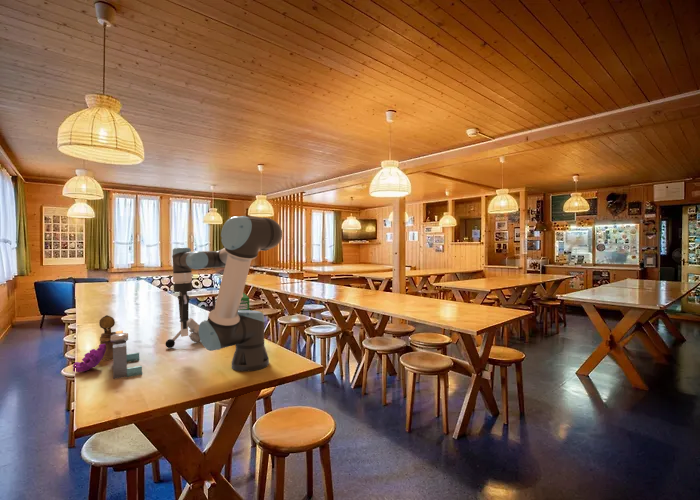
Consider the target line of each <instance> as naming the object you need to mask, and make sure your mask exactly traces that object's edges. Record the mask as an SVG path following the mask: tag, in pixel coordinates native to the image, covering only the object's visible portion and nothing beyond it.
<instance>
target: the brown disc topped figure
mask: <svg viewBox="0 0 700 500" xmlns="http://www.w3.org/2000/svg"><path fill="white" fill-rule="evenodd" d="M115 324H116V322H115V319H114V317H113V316H111V315H104V316H103V317H101V318H100V320H99V327H100V328H101V329H103V333H101V334H100V337H99V342H100V343H99V345H101V344H106V351H105V354H104V356H103V358H102V360H101V361H109V360H113V343H112V342H111V335H113V334H116V331H112V328H113V327H114V326H115Z"/></svg>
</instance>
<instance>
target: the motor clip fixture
mask: <svg viewBox="0 0 700 500" xmlns="http://www.w3.org/2000/svg"><path fill="white" fill-rule="evenodd" d="M115 332H116V334H113V335H111V342H112V343H113V359H112V371H113V373H112V374H113V375H112V376H113V377H112V378H113V379H114V380H116V379H120V378H121V379H122V378H126V377H127V378H130V377H135V376H141V375H143V366H142V365H137V366H132V367H128V363H129V362H136V361H139V360H140V352H131V353H128V352H127V351H128V350H127V348H128V347H127V341H128V340H129V333H127V332H124V330H116V331H115Z"/></svg>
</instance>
